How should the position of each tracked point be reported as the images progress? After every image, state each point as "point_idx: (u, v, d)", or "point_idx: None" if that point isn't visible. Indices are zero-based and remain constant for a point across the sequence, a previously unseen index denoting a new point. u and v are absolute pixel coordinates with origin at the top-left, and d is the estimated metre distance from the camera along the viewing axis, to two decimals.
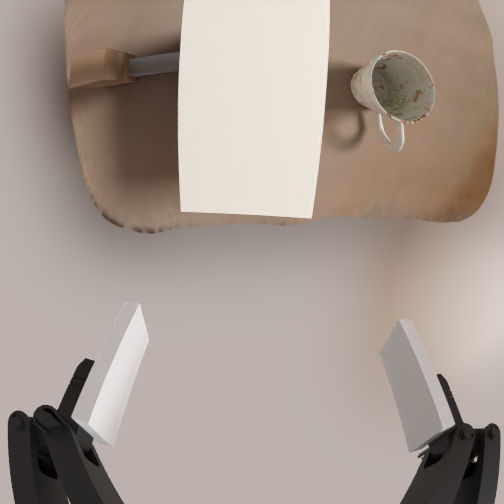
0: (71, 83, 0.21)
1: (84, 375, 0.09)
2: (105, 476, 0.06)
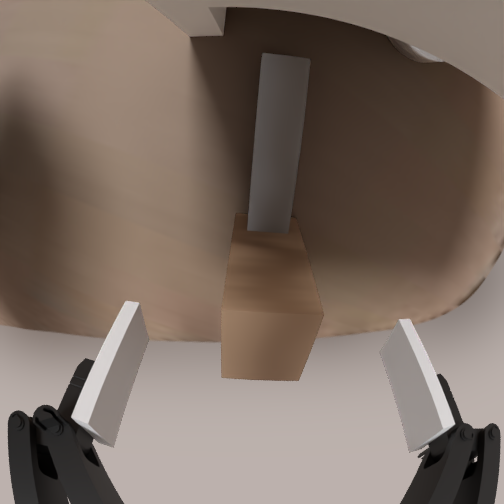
0: (287, 378, 0.13)
1: (84, 375, 0.09)
2: (105, 476, 0.06)
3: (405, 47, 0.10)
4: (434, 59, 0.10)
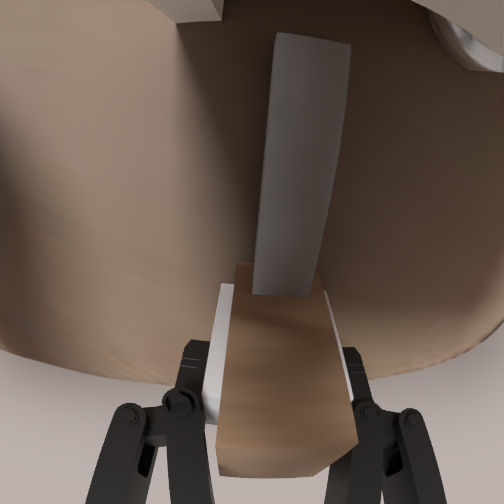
0: (300, 476, 0.08)
1: (195, 355, 0.10)
2: (208, 466, 0.07)
3: (459, 49, 0.06)
4: (493, 68, 0.06)
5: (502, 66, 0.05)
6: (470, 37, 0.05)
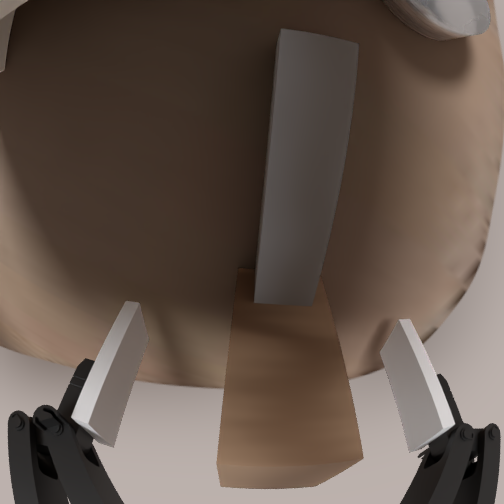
0: (302, 486, 0.08)
1: (84, 375, 0.09)
2: (105, 476, 0.06)
3: (414, 14, 0.05)
4: (460, 30, 0.05)
5: (472, 27, 0.04)
6: None
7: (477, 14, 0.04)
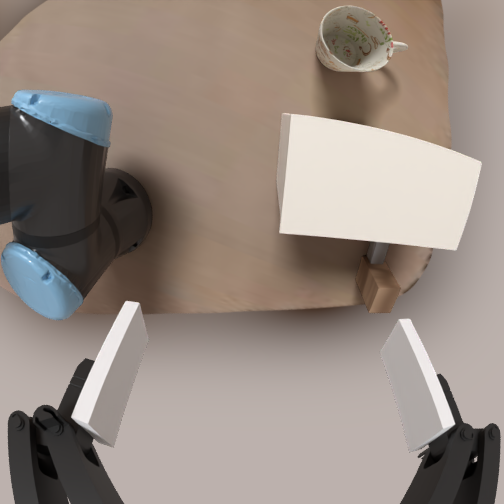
0: (387, 311, 0.39)
1: (84, 375, 0.09)
2: (105, 476, 0.06)
3: None
4: None
5: None
6: None
7: None
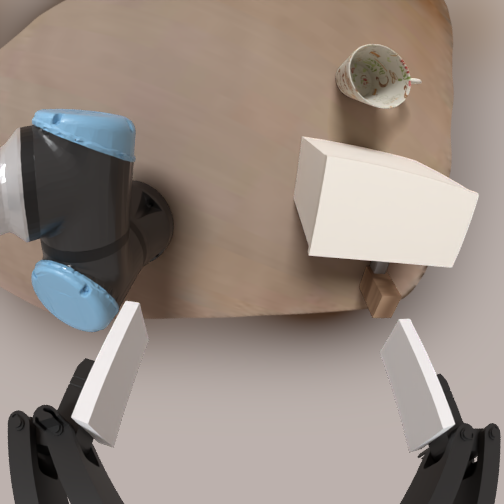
0: (388, 316, 0.43)
1: (84, 375, 0.09)
2: (105, 476, 0.06)
3: None
4: None
5: None
6: None
7: None
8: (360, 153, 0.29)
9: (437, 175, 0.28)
